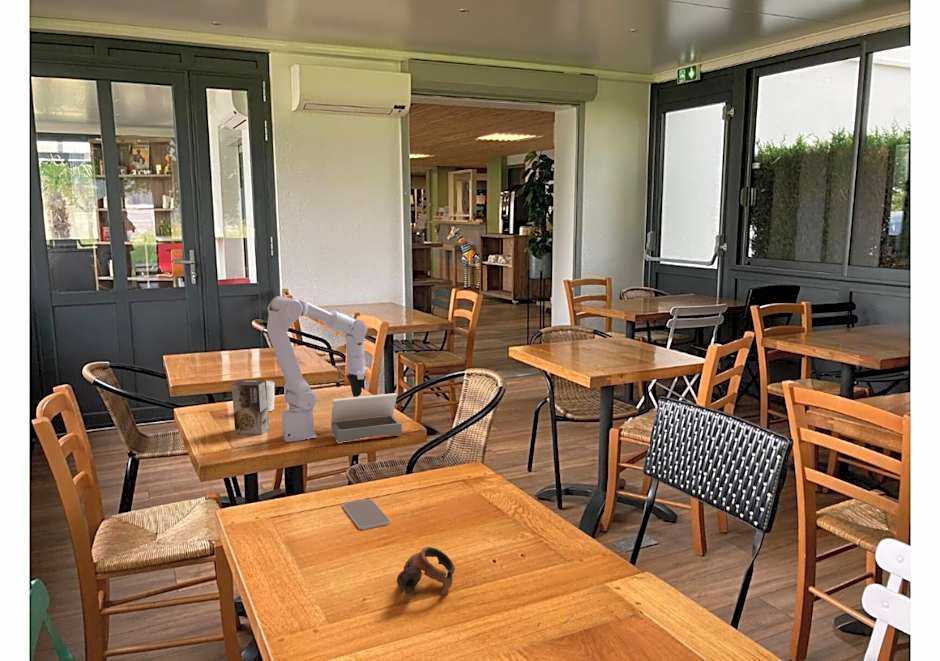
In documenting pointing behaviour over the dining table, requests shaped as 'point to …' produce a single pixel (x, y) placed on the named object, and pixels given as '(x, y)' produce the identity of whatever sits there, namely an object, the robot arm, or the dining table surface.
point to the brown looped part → (419, 562)
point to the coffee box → (250, 406)
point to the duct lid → (363, 407)
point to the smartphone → (366, 514)
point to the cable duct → (365, 428)
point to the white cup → (270, 395)
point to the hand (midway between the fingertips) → (356, 396)
